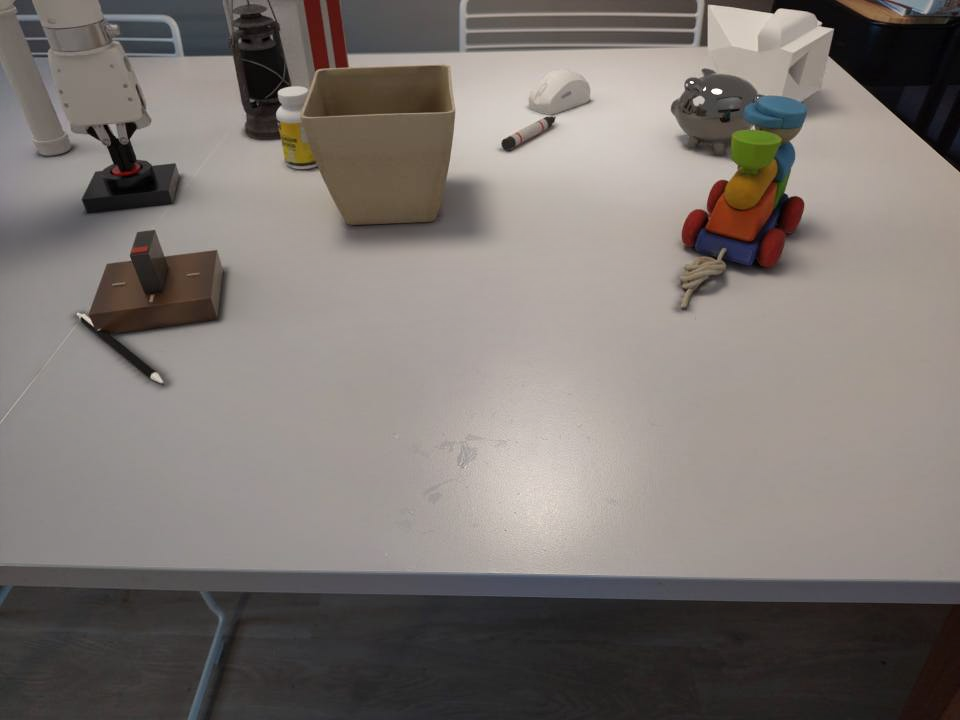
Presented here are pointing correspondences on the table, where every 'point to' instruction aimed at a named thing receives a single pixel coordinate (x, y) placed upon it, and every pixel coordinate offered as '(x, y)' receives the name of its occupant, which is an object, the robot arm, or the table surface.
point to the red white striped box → (304, 35)
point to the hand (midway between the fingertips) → (127, 167)
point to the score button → (134, 170)
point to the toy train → (749, 196)
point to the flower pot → (382, 139)
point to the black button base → (131, 188)
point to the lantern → (258, 68)
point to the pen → (122, 349)
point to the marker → (527, 133)
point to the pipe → (30, 87)
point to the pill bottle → (294, 128)
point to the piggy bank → (714, 108)
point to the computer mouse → (559, 92)
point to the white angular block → (770, 49)
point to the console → (159, 295)
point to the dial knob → (149, 261)
